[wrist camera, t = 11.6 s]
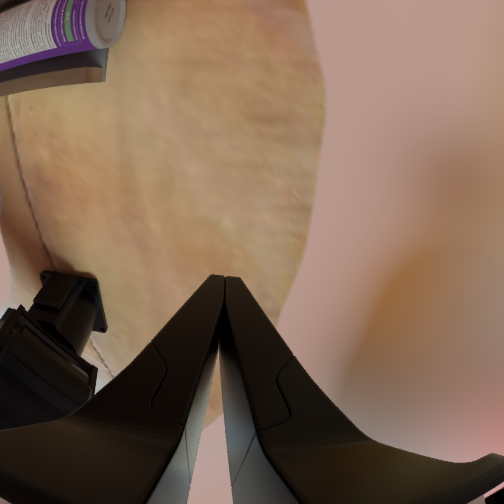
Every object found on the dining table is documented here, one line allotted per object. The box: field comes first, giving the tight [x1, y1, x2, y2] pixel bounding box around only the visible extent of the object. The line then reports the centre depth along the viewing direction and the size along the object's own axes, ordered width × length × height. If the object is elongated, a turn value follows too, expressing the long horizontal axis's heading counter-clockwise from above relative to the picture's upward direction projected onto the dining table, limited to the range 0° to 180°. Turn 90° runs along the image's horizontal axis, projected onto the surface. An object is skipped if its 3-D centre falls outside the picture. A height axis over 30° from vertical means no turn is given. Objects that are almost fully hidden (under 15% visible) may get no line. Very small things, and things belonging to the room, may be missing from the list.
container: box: [0, 0, 126, 71], centre depth 11 cm, size 5×5×15 cm
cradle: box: [0, 0, 109, 96], centre depth 12 cm, size 9×16×3 cm, turn 82°
